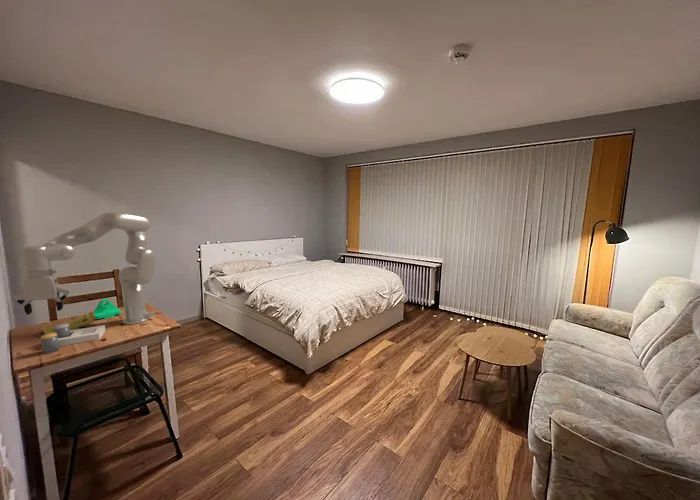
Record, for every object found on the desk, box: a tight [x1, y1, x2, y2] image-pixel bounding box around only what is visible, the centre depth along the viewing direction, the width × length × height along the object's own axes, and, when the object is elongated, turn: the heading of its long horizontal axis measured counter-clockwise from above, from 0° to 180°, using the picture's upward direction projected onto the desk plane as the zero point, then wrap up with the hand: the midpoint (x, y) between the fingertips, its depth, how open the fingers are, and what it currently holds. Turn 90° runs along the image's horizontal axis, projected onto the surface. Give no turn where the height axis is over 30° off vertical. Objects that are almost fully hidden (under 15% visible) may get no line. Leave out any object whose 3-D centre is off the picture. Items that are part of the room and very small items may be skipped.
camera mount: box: [93, 298, 122, 320], centre depth 171 cm, size 12×8×10 cm, turn 145°
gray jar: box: [40, 333, 60, 355], centre depth 128 cm, size 5×5×8 cm
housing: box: [58, 324, 106, 347], centre depth 140 cm, size 20×12×4 cm, turn 120°
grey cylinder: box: [54, 323, 71, 338], centre depth 137 cm, size 5×5×8 cm
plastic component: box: [41, 310, 96, 335], centre depth 153 cm, size 20×7×10 cm
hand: (44, 311), depth 126 cm, fingers open, 9 cm apart
